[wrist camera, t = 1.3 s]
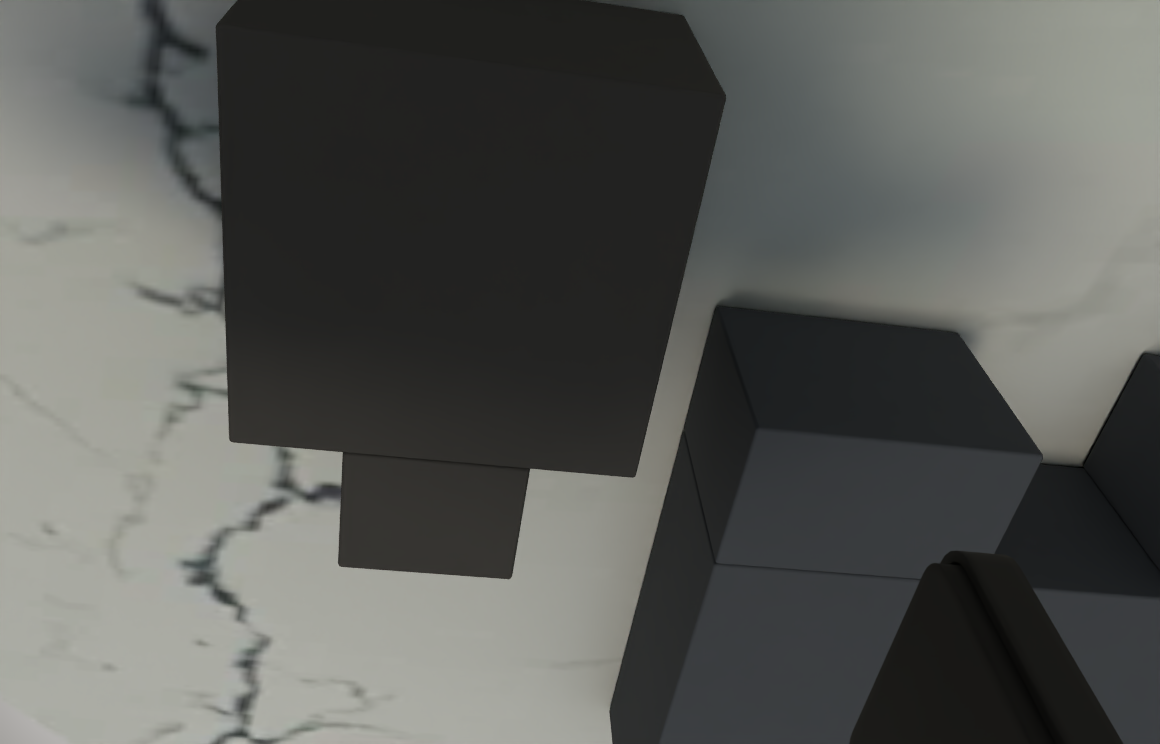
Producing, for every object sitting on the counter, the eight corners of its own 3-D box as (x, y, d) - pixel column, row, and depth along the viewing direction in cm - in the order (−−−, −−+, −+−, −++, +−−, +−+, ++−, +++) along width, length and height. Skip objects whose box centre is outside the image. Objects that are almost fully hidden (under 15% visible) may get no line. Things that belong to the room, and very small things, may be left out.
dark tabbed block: (276, -47, 16) (214, 23, 13) (684, 15, 17) (727, 95, 14) (276, 421, 21) (231, 560, 18) (594, 449, 22) (609, 588, 18)
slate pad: (715, 303, 20) (757, 428, 17) (1359, 376, 22) (1512, 500, 18) (608, 710, 26) (623, 859, 23) (1112, 739, 28) (1192, 880, 25)
